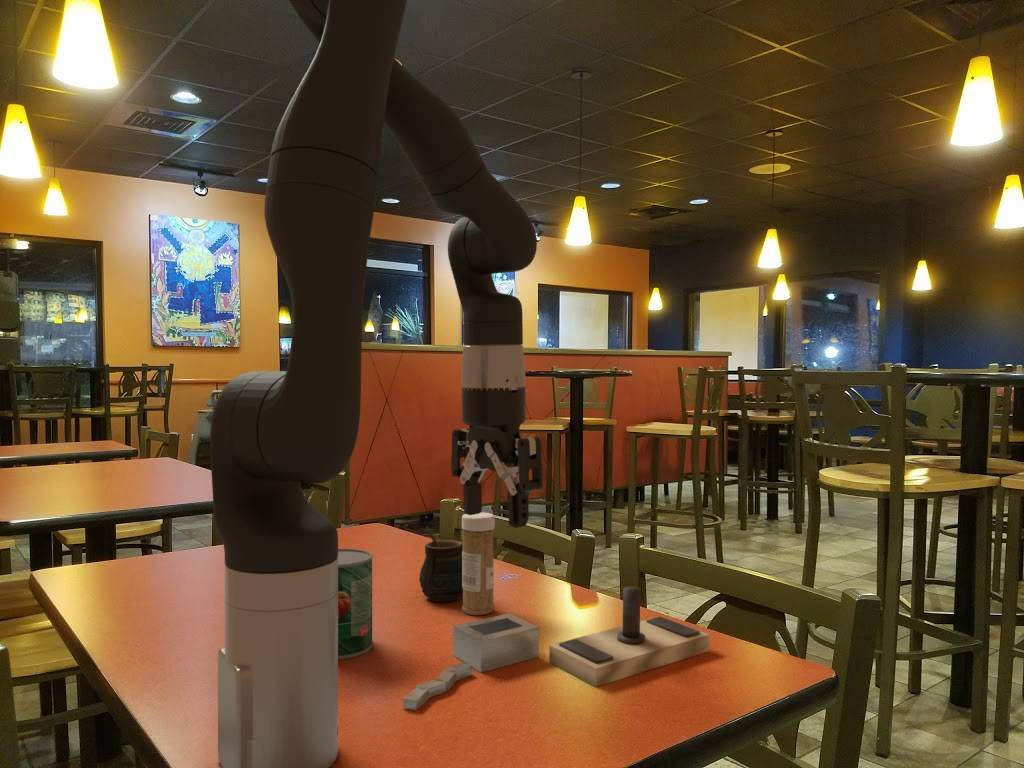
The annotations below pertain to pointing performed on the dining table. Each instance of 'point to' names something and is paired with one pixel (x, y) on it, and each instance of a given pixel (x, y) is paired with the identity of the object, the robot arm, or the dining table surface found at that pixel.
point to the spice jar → (478, 563)
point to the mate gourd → (442, 570)
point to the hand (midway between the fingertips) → (494, 520)
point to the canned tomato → (354, 602)
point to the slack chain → (436, 685)
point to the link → (495, 642)
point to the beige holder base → (628, 646)
